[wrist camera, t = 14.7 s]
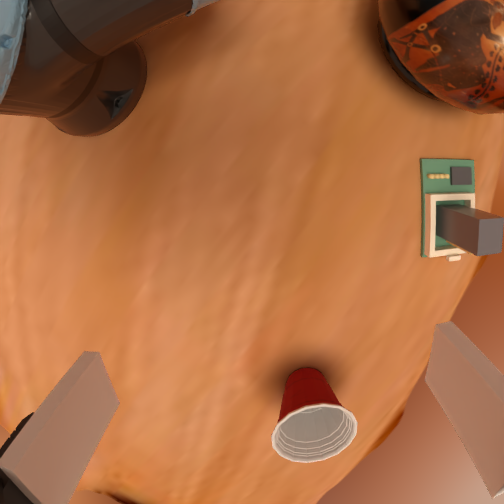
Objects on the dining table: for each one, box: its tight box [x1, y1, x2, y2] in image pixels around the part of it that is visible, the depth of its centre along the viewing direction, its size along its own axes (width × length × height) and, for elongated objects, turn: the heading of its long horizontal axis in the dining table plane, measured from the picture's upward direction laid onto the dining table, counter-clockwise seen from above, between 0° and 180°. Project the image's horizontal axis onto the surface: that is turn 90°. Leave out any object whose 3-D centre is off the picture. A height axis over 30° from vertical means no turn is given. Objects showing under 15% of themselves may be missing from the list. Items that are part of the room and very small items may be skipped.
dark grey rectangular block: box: [436, 204, 504, 256], centre depth 32 cm, size 5×4×10 cm
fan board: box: [420, 159, 475, 261], centre depth 35 cm, size 13×9×3 cm
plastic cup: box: [271, 368, 357, 463], centre depth 39 cm, size 11×11×12 cm
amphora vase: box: [378, 0, 504, 114], centre depth 17 cm, size 22×22×28 cm
